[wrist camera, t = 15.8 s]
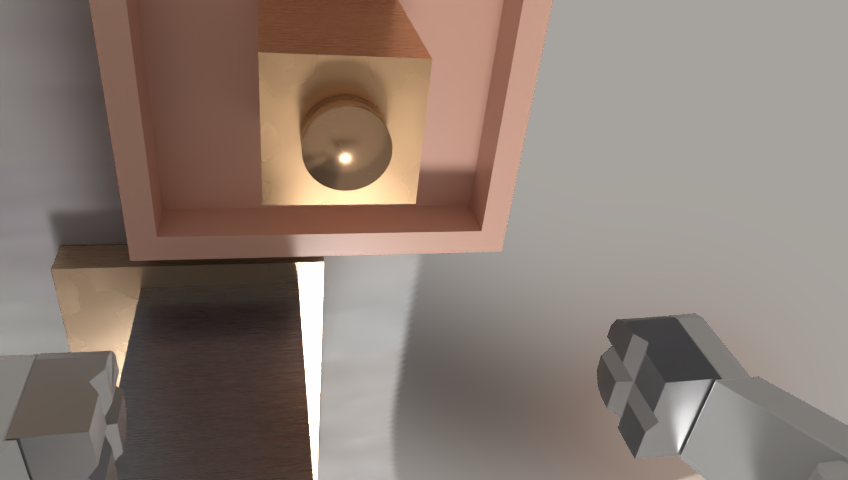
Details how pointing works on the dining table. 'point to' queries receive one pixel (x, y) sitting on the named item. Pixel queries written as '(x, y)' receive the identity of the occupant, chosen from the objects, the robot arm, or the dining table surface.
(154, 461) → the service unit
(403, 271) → the dining table surface
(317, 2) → the oak wood brick
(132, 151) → the tray
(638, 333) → the robot arm
